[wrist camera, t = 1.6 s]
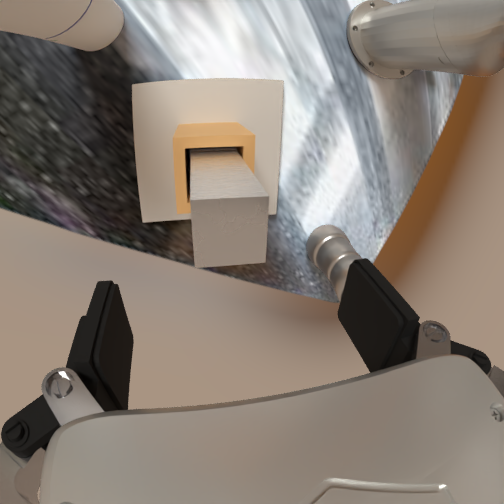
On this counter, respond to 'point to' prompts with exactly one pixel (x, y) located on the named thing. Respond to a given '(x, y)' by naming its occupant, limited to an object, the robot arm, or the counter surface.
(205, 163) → the steel column
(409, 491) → the robot arm
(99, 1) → the cylindrical container
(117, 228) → the counter surface
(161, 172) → the stand base
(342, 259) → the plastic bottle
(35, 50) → the counter surface
